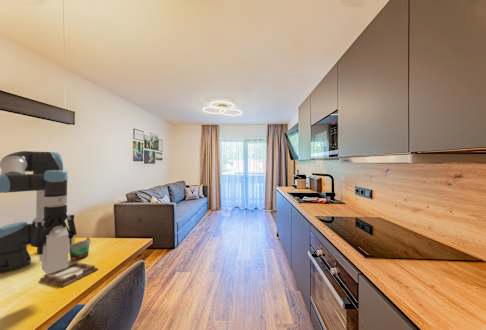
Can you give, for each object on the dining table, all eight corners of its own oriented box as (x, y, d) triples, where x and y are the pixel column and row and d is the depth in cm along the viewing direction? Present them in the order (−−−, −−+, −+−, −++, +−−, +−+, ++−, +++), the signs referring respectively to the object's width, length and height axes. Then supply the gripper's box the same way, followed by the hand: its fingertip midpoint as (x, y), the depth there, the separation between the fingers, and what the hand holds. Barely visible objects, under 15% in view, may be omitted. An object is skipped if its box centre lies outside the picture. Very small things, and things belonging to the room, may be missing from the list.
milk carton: (41, 269, 89) (42, 226, 89) (62, 263, 95) (63, 222, 94) (46, 274, 85) (47, 229, 85) (68, 267, 91) (68, 225, 91)
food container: (76, 262, 118) (76, 245, 118) (67, 261, 119) (68, 244, 119) (95, 253, 130) (95, 238, 130) (87, 253, 132) (87, 237, 132)
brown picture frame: (40, 280, 100) (40, 275, 100) (75, 265, 115) (75, 260, 115) (64, 286, 95) (64, 281, 95) (97, 270, 110) (97, 265, 110)
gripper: (30, 211, 78) (29, 270, 79) (86, 201, 98) (86, 248, 99) (17, 209, 81) (17, 266, 81) (75, 200, 101) (75, 246, 101)
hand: (55, 256), depth 90 cm, fingers closed on milk carton, 8 cm apart
